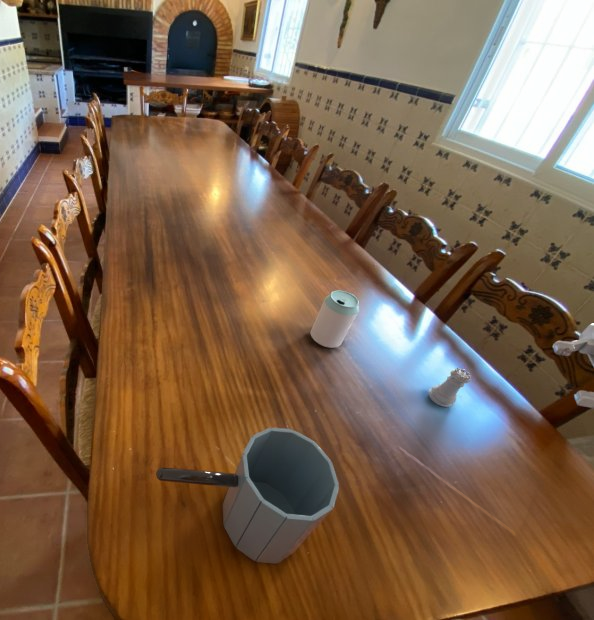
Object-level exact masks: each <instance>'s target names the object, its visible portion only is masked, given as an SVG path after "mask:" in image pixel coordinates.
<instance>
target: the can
mask: <svg viewBox="0 0 594 620" xmlns="http://www.w3.org/2000/svg"><path fill="white" fill-rule="evenodd" d="M359 312H360V301H359V298H358V297H357V296H355V294H353V293H351V292H349V291H346V290H333V291H331V293H330V294H329V295H327V296H326V297H325V298H324V300H323V302H322V305H321V307H320V309H319V311H318V313H317V315H316V319H315V321H314V323H313V325H312V327H311V329H310V336H311V338H312V339H313V341H314V342H316V343H317V344H318V345H320V346H322V347H325V348H330V349H331V348H338V347H340V346H341V345H342V344H343V342H344V340H345V338H346V336H347V334H348V332H349V331H350V330H351V329H350V328H351V327H352V325H353V323H354V321H355V319H356V318H357V315H358V314H359Z"/></svg>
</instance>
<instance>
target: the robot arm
mask: <svg viewBox="0 0 594 620" xmlns="http://www.w3.org/2000/svg"><path fill="white" fill-rule="evenodd" d="M552 350H553V351H554V353H555V355H558V356H564V357H569V356H570V355H571V354H572V353H573V352H576V351H578V352H579V353H580V354H583V355H587V357H588V359H589V361H590V363H591V365H592V366H593V368H594V323H591V324H589V325H588V326H586V328H585V329H583V330H582V332H581V333H580V334H579V337H578V339H576V340H572V341H565V340H557V341H555V342H554V343H553V345H552ZM573 397H574V398H573V399H574V401H575V402H576V405H577V406H580V407H585V408H586V407H587V408H591V409H593V410H594V391H588V390H583V389H582V390H581V389H580V390H578V391H576V393H574V394H573Z"/></svg>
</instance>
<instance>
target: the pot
mask: <svg viewBox="0 0 594 620" xmlns="http://www.w3.org/2000/svg"><path fill="white" fill-rule="evenodd" d="M155 475H156V478H157V480H158V481H161V482H169V483H170V482H171V483H180V484H189V485H203V486H211V487H212V486H215V487H225V488H228V489H227V491H226V495H225V497H224V499H223V502H222V520H223V527H224V529H225V532H226V533H227V535H228V537H229V539H230V540H231V542H232V545H233V546H234V547H235V548H236V549H237V550H238V551H239V552H241V553H243V554H244V555H245V556H246V557H248V558H249V559H251V560H252V561H253V562H256V563H262V564H263V563H264V564H275V565H276V564H280V563H281V562H283V561H284V560H285V559H287V558H289V557H290V556H291V555H293V554H294V553H295V552H296V551H297V550H298V549H299V548H300V547H301V546H302V544H303V543H304V542H305V541H306V540H307V538H309V536H310V535H311V534H312V533H313V532H314V530H315V529H316V528H318V526H319V525H320V524H321V523H322V522H323V521H324V519H325V518H326V517H327V516H328V515H329V514H330V513H331V511H333V509H334V508H335V504H336V501H337V497H338V493H339V489H340V483H339V480H338V476H337V474H336V470H335V467H334V463H333V462H332V460H331V459H330V458H329V457H328V454H326V452H324V450H323V449H322V448H321V447H320V446H319V445H318V444H317V442H316V441H314V440H313V439H311V438H309V437H307V436H305V435H304V434H302V433H300V432H298V431H296V430H295V429H292V428H282V427H281V428H280V427H268V428H266V429H264V430H262V431H260V432H257V433H255V434H253V435H251V437H250V439H249V441H248V442H247V444H246V446H245V448H244V450H243V452H242V454H241V456H240V459H239V461H238V464H237V466H236V469H235V472H224V471H223V472H222V471H210V470H200V469H188V468H177V467H167V466H166V467H165V466H159V468H158V469H157V470H156V472H155Z"/></svg>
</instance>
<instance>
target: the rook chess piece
mask: <svg viewBox="0 0 594 620" xmlns="http://www.w3.org/2000/svg"><path fill="white" fill-rule="evenodd" d="M471 378H472V375H471V373H470V371H466V369H465V368H461V367H457V368H455V369H451V370H450V375H448V376H447V379H446V380H444V381H443V382H441V383H440V384H436V385H434V386H432V387H431V388H430V389H429V390H428V397H429V399H430V400H431V401H432V402H433V403H434V404H435V405H438V406H440V407H443V408H450V407H452V406H454V404H455V403H456V401H457V394H458V392H459V391H460V389H461V388H463V387H464V386H465V384H469V383H470V382H471Z"/></svg>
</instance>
